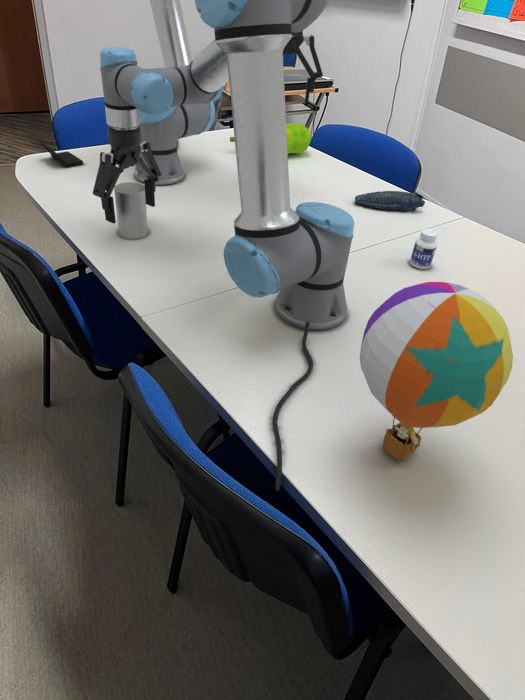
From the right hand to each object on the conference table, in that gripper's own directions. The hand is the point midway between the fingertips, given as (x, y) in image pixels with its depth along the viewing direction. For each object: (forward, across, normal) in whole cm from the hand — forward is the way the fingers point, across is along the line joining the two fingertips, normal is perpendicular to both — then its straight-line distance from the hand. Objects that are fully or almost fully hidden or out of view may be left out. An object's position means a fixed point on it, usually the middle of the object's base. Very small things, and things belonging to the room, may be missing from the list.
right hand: (131, 213), depth 132 cm
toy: (+4, +26, +86) cm, 90 cm away
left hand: (-22, -44, +14) cm, 51 cm away
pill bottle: (+5, -37, +65) cm, 75 cm away
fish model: (+5, -65, +43) cm, 78 cm away
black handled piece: (+6, -20, -53) cm, 57 cm away
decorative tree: (+6, -79, -10) cm, 79 cm away
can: (+5, 0, 0) cm, 5 cm away
